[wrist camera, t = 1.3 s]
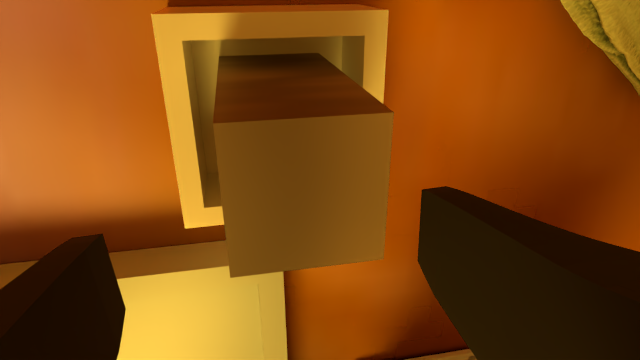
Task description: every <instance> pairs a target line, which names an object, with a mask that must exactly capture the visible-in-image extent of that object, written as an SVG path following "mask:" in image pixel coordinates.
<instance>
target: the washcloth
mask: <svg viewBox="0 0 640 360" xmlns="http://www.w3.org/2000/svg"><path fill="white" fill-rule="evenodd" d="M560 1H561V3H562V5H563V7H564V8H565V9H566V10H567V12H568V13H569V15H570V17H571V18H572V20H573V21H574V22H575V23H576V24H577V26H578V28H579V29H580V30H581V32H582V33H583V34H584V35H585V36H587V37H588V38H589V39H590V40H591V41H592V42H593V43H594V44H595V45H597V46H598V47H599V48H601V49H602V50H603V52H604V53H605V54H606V55H607V56H608V58H609V59H610V60H611V61H612V62H613V63H614V64H615V65H616V66H617V67H618V68H619V70H620V71H621V72H622V73H623V74H624V76H625V77H626V78H627V79H628V80H629V81H630V82H631V84H632V85H633V86H634V88H635V90H636V91H637V93H638V95H639V96H640V0H560Z"/></svg>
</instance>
